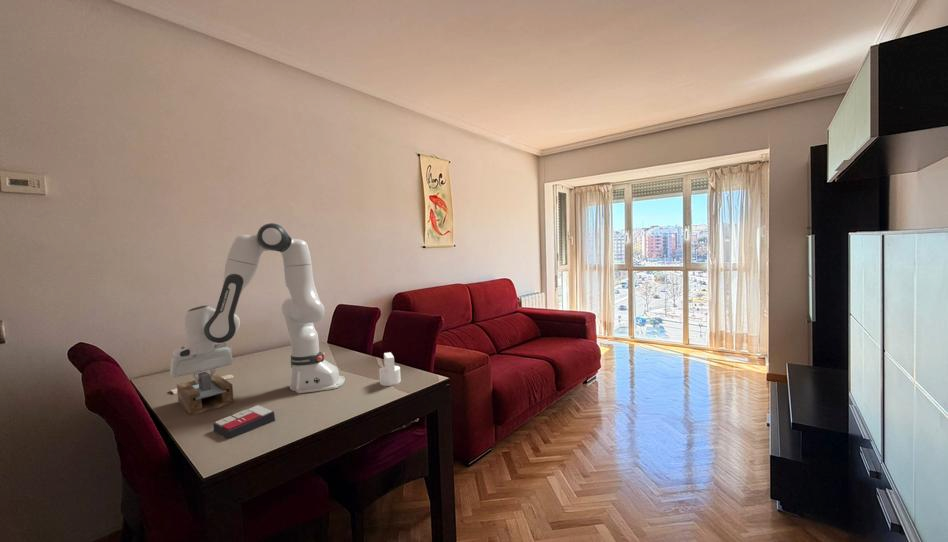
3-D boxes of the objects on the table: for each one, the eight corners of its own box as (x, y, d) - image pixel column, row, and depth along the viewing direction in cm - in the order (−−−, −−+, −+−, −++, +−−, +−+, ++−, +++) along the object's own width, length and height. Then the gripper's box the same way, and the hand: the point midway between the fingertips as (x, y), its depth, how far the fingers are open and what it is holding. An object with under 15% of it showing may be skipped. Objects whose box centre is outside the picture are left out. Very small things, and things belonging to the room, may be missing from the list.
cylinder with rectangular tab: (402, 383, 166) (401, 356, 165) (381, 387, 163) (379, 359, 162) (398, 377, 174) (397, 351, 174) (378, 380, 171) (376, 354, 170)
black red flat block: (212, 421, 128) (258, 403, 140) (214, 433, 128) (259, 414, 141) (227, 429, 122) (274, 409, 134) (229, 442, 122) (275, 421, 134)
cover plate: (213, 382, 162) (212, 366, 162) (226, 391, 150) (224, 374, 150) (184, 389, 155) (182, 372, 154) (195, 400, 143) (193, 382, 143)
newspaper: (173, 396, 164) (173, 391, 164) (168, 392, 168) (168, 388, 168) (234, 379, 183) (234, 375, 183) (227, 376, 187) (227, 373, 187)
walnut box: (218, 391, 165) (217, 374, 164) (233, 403, 152) (232, 384, 151) (178, 402, 155) (176, 384, 154) (190, 415, 141) (188, 395, 141)
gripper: (228, 340, 161) (231, 373, 162) (167, 352, 146) (170, 387, 147) (233, 342, 157) (236, 376, 158) (170, 354, 142) (174, 391, 143)
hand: (204, 381), depth 152 cm, fingers closed on cover plate, 2 cm apart
